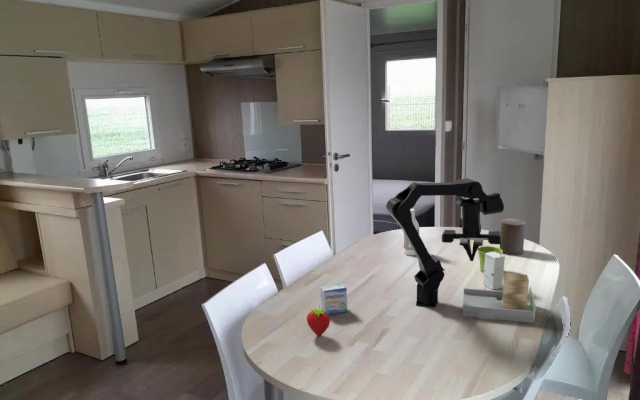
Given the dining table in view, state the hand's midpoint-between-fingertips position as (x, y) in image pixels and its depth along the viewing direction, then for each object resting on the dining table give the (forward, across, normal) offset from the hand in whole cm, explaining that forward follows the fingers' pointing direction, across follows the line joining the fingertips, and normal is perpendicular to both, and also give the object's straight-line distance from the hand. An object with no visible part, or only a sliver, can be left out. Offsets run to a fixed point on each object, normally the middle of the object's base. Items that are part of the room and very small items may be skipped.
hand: (471, 260), depth 163 cm
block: (+12, -13, +8) cm, 19 cm away
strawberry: (+10, +41, +41) cm, 59 cm away
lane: (+14, -8, +8) cm, 18 cm away
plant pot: (+15, -4, -27) cm, 31 cm away
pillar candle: (+16, -12, -52) cm, 56 cm away
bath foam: (+14, +29, -39) cm, 51 cm away
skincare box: (+14, -6, -12) cm, 19 cm away
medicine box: (+11, +42, +24) cm, 50 cm away
